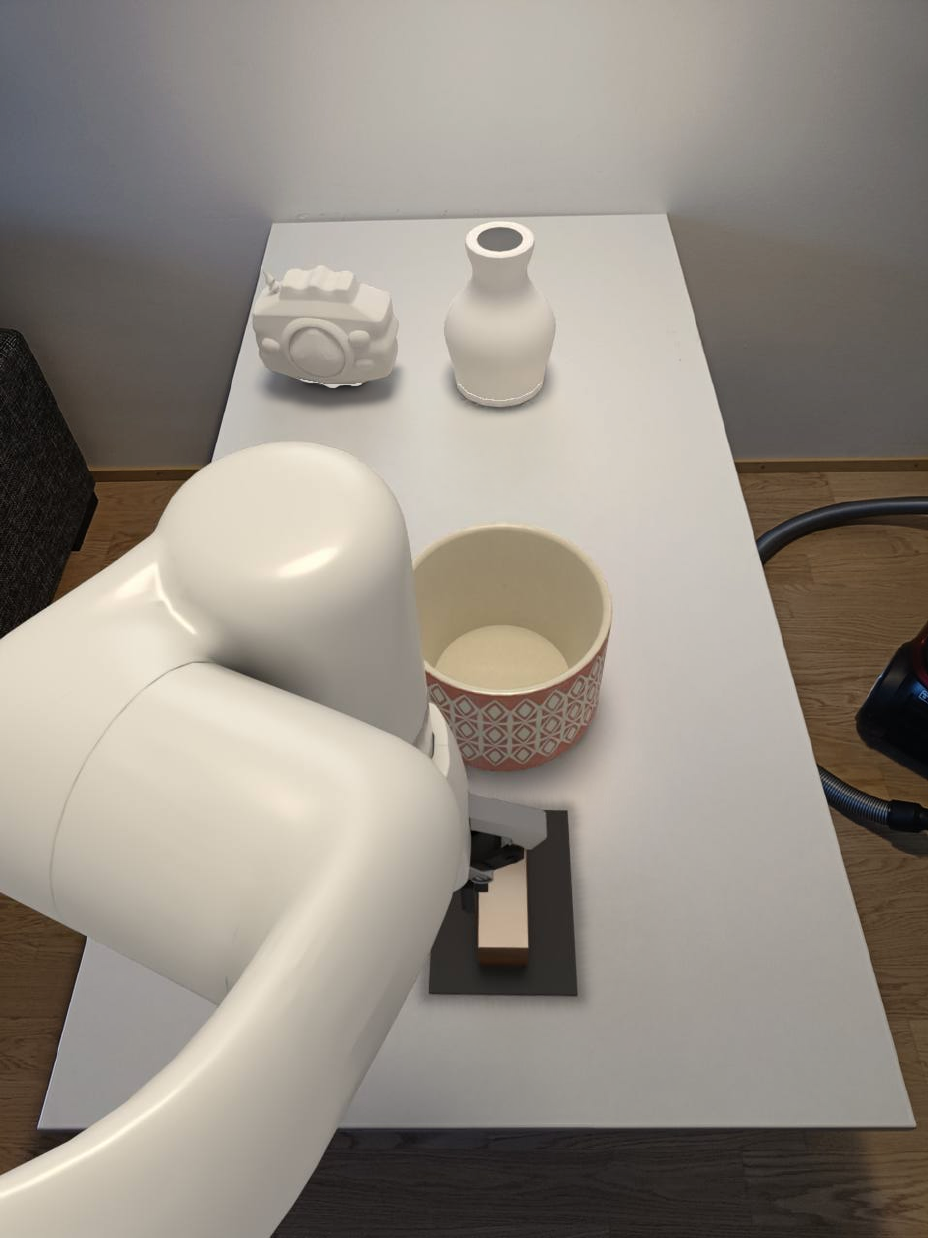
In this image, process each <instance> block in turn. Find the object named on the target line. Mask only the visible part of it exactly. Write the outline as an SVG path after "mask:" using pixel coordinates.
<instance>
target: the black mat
mask: <svg viewBox="0 0 928 1238" xmlns="http://www.w3.org/2000/svg"><path fill="white" fill-rule="evenodd" d="M542 810H543V811H545V812H546V827H547V838H546V839H545V840H544V841H542V842H541V843H540V844H538V845H537V846H535V847H534V848H533V849H531V850H528V849H527V883H528V924H529V954H528V965H527V967H503V966H479V961H478V892H476V909H475V914H474V913H466V911H462V904H461V894H460V889H458V890H457V891H455V892H453V894H452V898H451V901H450V904H449V906H448V909H447V912H446V914H445V917H444V919H443V922H442V924H441V926H440V929H439V931H438V934H437V936H436V938H435V941H434V943H433V946H432V948H431V950H430V953H429V955H430V957H429V976H428V977H429V979H428V984H429V985H428V994H434V995H436V994H437V995H439V994H440V995H441V994H442V995H443V994H444V995H513V996H514V995H515V996H519V995H520V996H578V980H577V979H578V977H577V961H576V942H575V926H574V925H575V922H574V921H575V920H574V905H573V902H574V901H573V886H572V867H571V866H572V865H571V847H570V833H569V832H570V831H569V830H570V829H569V813H568V810H567V809H542Z"/></svg>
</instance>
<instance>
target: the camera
mask: <svg viewBox="0 0 928 1238" xmlns="http://www.w3.org/2000/svg"><path fill="white" fill-rule="evenodd" d="M261 271H262V274H263V275H264V278H265V284H266V285H267V286H266V287H264V288H263V289H262V291H261V292H260V294H259V296H258V297H257V299H256V302H255V305H254V306H253V309H252V329H253V331H254V333H255V341H256V345H257V347H258V356H259V358H260V360H261V362H262V364H263V365H264V368H265V369H267V370H268V371H271V372H273V373H276V374H277V373H278V374H281V375H284V376H287V377H291V378H294V379H296V378H298V379H303V380H308V381H313V382H318V383H323V384H356V383H364V384H365V383H367V382H370V381H376V380H380V379H383V378H386V377H388V376H389V375H390V374H391V373H392V371H393V369H394V366H395V364H396V363H395V362H396V360H397V356H398V351H399V344H398V338H397V336H398V331H399V327H400V324H399V318H398V317H397V315H396V314H395V313H394V310H393V299H392V295H391V294H390V293H389V292H388V291H385V290H383V289H380V288H378V287H375V286H372V285H369V284H366V283H363V282H360V281H359V280H358V278H357V276H356V275H355V273H354V272H352V271H348V270H342V271H334V270H331V269H330V268H329V267H327V266H325V265H317V266H315V267H314V268H312V269H309V270H306V269H301V268H298V267H297V268H290V269H288V270H287V271H286V273H285V274H284V276H283V279H282V280H280V281H276V277H275V276H273V275H272V274H270V273H268V272H267V270H265V269H264V268H262V270H261ZM298 379H297V380H298Z"/></svg>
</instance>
